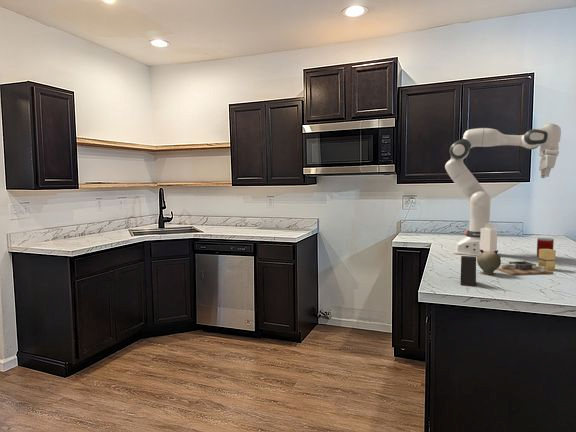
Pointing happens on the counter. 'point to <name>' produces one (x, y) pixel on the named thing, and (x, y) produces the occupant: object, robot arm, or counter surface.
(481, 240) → the milk
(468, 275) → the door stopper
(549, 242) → the canned food
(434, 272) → the counter surface
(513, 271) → the coupling board
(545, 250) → the coupler
